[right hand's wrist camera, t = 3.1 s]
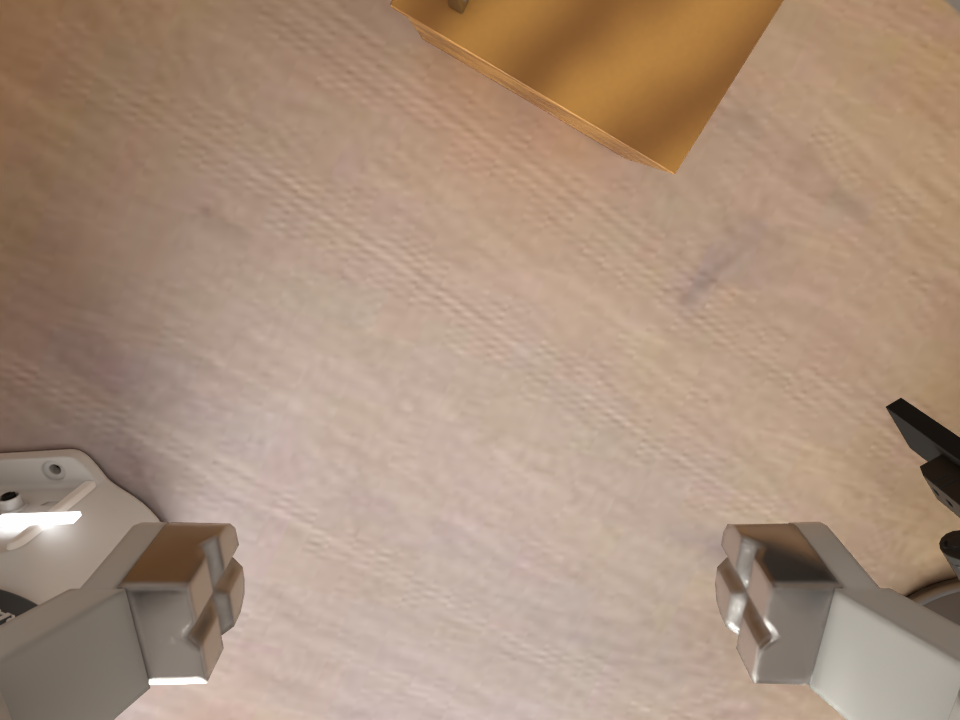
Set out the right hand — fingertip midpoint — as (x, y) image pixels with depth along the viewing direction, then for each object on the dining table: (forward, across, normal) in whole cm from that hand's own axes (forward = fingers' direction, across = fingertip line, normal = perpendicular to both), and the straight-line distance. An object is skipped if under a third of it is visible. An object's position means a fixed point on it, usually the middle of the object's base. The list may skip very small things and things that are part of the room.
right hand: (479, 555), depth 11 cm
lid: (+24, -5, -12) cm, 27 cm away
